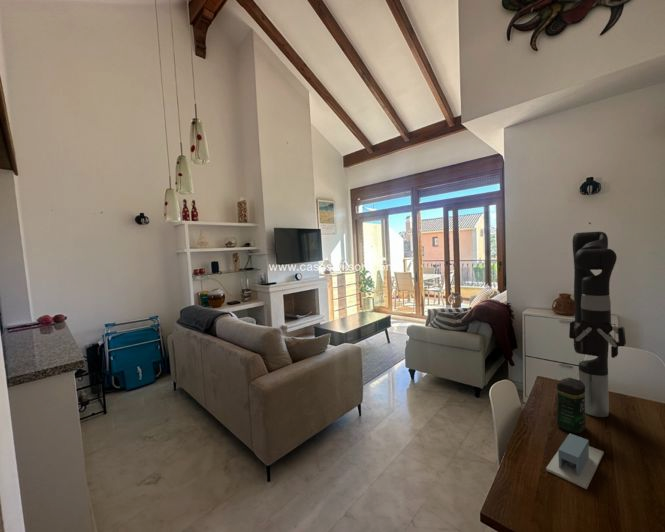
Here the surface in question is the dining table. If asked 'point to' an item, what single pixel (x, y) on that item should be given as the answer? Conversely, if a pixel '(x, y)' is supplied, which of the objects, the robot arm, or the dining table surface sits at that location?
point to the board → (570, 468)
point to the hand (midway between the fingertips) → (596, 354)
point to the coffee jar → (571, 405)
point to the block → (574, 452)
